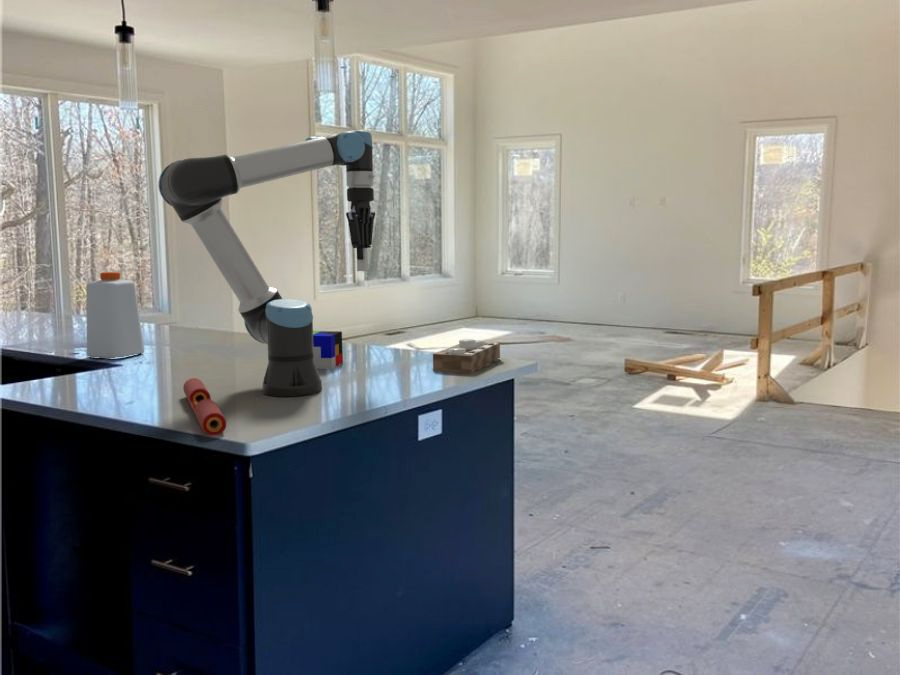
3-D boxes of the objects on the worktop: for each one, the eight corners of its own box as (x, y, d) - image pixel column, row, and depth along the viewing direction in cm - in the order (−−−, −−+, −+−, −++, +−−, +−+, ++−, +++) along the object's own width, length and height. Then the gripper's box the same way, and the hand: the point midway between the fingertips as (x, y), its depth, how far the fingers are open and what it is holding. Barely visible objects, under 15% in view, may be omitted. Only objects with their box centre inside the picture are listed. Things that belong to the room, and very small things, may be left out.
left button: (461, 365, 237) (461, 350, 236) (446, 364, 238) (445, 350, 238) (468, 362, 241) (468, 348, 240) (452, 361, 243) (452, 347, 242)
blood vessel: (183, 398, 208) (182, 379, 207) (204, 396, 210) (203, 377, 209) (202, 437, 170) (201, 414, 169) (227, 434, 172) (225, 411, 171)
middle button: (472, 356, 244) (472, 342, 243) (456, 355, 246) (456, 341, 245) (478, 353, 248) (478, 339, 248) (463, 352, 250) (462, 338, 249)
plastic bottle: (81, 358, 269) (74, 273, 265) (114, 351, 283) (108, 270, 279) (117, 360, 264) (111, 274, 260) (150, 353, 278) (144, 271, 274)
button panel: (471, 373, 234) (471, 353, 233) (433, 370, 239) (432, 351, 238) (499, 359, 256) (499, 341, 255) (464, 357, 261) (464, 340, 260)
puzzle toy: (331, 369, 244) (330, 336, 243) (300, 368, 246) (299, 335, 245) (342, 363, 254) (341, 331, 253) (312, 362, 256) (311, 331, 255)
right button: (481, 356, 251) (481, 342, 250) (466, 355, 253) (466, 342, 252) (487, 354, 256) (487, 340, 255) (472, 353, 258) (472, 339, 257)
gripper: (360, 186, 224) (362, 272, 227) (382, 187, 235) (384, 269, 239) (336, 187, 227) (339, 272, 230) (359, 188, 238) (362, 269, 242)
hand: (362, 270), depth 234 cm, fingers closed
